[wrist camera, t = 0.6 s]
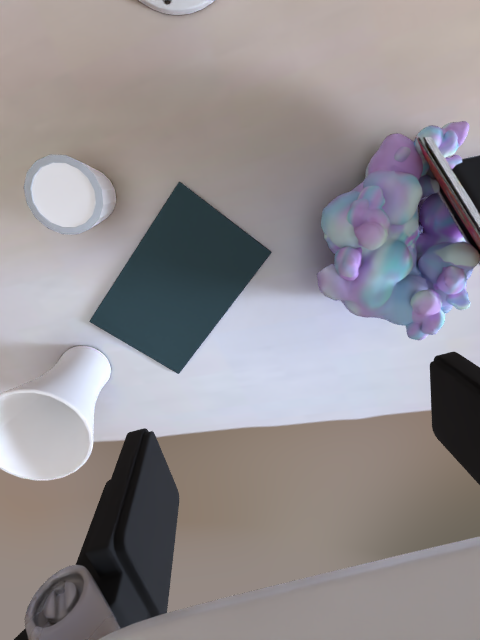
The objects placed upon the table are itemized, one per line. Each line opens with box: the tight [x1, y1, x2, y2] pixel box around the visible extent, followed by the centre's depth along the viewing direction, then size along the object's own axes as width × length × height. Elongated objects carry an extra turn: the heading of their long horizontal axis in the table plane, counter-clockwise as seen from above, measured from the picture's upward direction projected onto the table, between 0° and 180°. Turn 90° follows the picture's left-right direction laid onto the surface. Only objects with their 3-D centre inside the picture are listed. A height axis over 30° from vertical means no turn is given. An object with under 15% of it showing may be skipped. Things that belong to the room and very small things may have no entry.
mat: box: [90, 182, 271, 374], centre depth 41 cm, size 13×20×1 cm, turn 143°
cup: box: [0, 346, 111, 480], centre depth 38 cm, size 10×10×14 cm
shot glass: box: [24, 155, 116, 234], centre depth 34 cm, size 7×7×7 cm
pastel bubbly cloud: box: [317, 121, 480, 340], centre depth 34 cm, size 20×22×18 cm
